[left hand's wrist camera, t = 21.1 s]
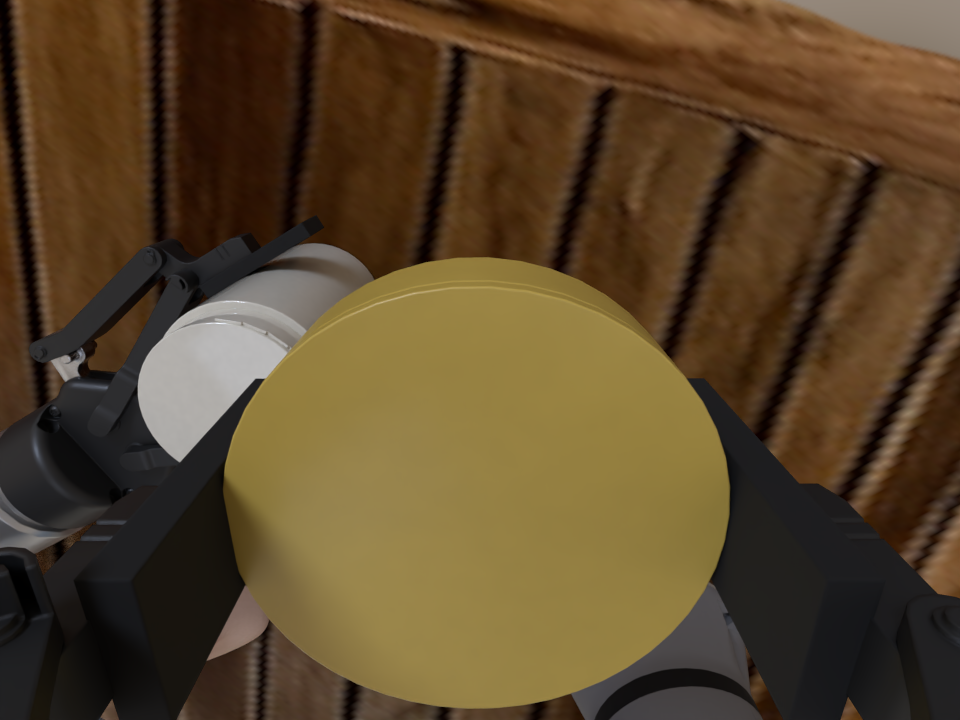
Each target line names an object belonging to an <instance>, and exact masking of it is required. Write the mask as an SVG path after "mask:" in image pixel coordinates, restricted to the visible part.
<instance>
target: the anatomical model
mask: <svg viewBox="0 0 960 720" xmlns="http://www.w3.org/2000/svg"><path fill="white" fill-rule="evenodd" d="M268 622H269V619H268V617H267V616H266V614H265V613H264V612H263V610H262V609H261V608H260V606H259V605H258V604H257V602H256V601H255V600H254V598H253V597H252V595H251V593H250V592H249V590H248V588H247V586H246V585H245V587H244V589H243V591H242V593H241V595H240V597H239V599H238V601H237V603H236V605H235V607H234V609H233V610H232V612H231V614H230V616H229V618H228V620H227V622H226V624H225V626H224V628H223V630H222V632H221V634H220V636H219V638H218V640H217V642H216V643H215V645H214V647H213V649H212V651H211V653H210V655H209V657H208V659H207V661H208V660H210V659H213V658H215V657H218V656H220V655H223V654H225V653H228V652H230V651H232V650H234V649H237V648H239V647H241V646H243V645H245V644H247V643H249V642H250V641H252V640H254V639H255V638H257V637H258V636H259V635H261V634H262V633H263V631H264V630H265V629H266V627H267V625H268Z"/></svg>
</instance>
